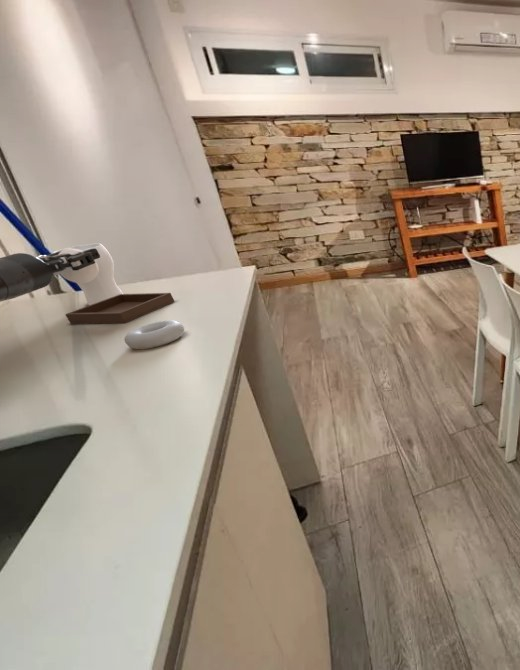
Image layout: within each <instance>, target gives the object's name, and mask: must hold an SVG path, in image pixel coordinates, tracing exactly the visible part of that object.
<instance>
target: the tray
mask: <svg viewBox="0 0 520 670" xmlns="http://www.w3.org/2000/svg"><path fill="white" fill-rule="evenodd" d="M175 301H176V300H175V299H174V297H173V295H172V293H171V292H149V293H146V292H145V293H144V292H143V293H123V294H119V295H116V296H114V297H111V298H108V299H105V300H103V301H100V302H97V303H95V304H92V305H87V306H84V307H81V308H79V309H76V310H73V311H71V312H68V313H65V314H64V315H65V317H66V319H67V320H68V322H69V323H70V324H72V325H80V324H81V325H83V324H84V325H85V324H87V325H88V324H126V323H128V322H131V321H133V320H135V319H138V318H141V317H142V316H145V315H147V314H149V313H152V312H154V311H157V310H159V309H161V308H163V307H166V306H168V305H171V304H173V303H176V302H175Z"/></svg>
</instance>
